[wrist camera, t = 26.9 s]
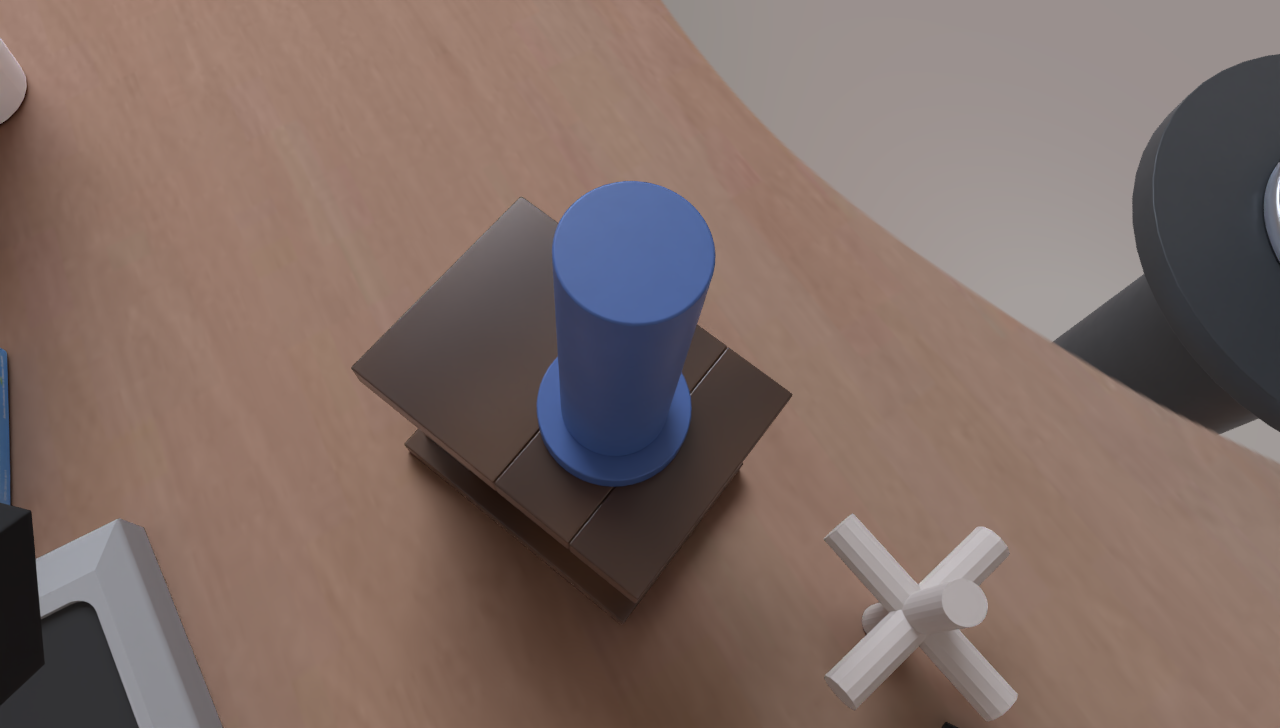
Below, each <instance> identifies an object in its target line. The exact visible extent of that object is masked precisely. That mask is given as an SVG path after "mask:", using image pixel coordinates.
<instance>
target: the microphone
mask: <svg viewBox="0 0 1280 728" xmlns="http://www.w3.org/2000/svg"><path fill="white" fill-rule="evenodd" d="M942 728H958V727H956V726H954V725H952V724H950V723H948V722H945V723H944V725H943V726H942Z"/></svg>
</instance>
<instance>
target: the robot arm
mask: <svg viewBox="0 0 1280 728" xmlns="http://www.w3.org/2000/svg"><path fill="white" fill-rule="evenodd" d="M1262 210H1263V221H1264V227H1265V231H1266V235H1267V239H1268V241H1269V244H1270V247H1271V249H1272V252H1273V254H1274V256H1275V258H1276V260H1277V262H1278V263H1279V265H1280V161H1279V162H1278V163H1277V165H1276V166H1275V168H1274V169H1273V171H1272V172H1271V174H1270V176H1269V178H1268V180H1267V183H1266V186H1265V190H1264V195H1263V206H1262ZM44 664H45V660H44V649H43V637H42V626H41V615H40V604H39V592H38V581H37V570H36V559H35V547H34V536H33V525H32V513H31V511H30V510H26V509H22V508H19V507H15V506H11V505H7V504H3V503H0V706H1V705H2V704H3V703H4V702H5V701H6V700H7V699H8V698H9V697H10V696H11V695H12V694H13V693H14V692H16V691H17V690H18V689H19V688H20V687H21V686H22V685H23V684H24V683H25V682H26V681H27V680H28V679H29V678H31V677H32V676H33V675H34V674H35V673H36V672H37V671H38V670H39V669H40V668H41V667H42V666H43V665H44Z"/></svg>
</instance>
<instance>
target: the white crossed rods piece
mask: <svg viewBox="0 0 1280 728" xmlns="http://www.w3.org/2000/svg"><path fill="white" fill-rule="evenodd" d="M824 541H825V542H826V543H827V544H828V545H829V546H830V547H831V548H832V549H833V551H834V552H835V553H836V554H837V555H838V556H839V557H840V558H841V560H842V561H843V562H844V563H845V564H846V565H847V566H848V567H849V569H850V570H851V571H852V572H853V573H854V574H855V575H856V576H857V578H858V579H859V580H860V581H861V582H862V583H863V584H864V585H865V586H866V588H867V589H868V590H869V591H870V592H871V593H872V594H873V595H874V597H875V598H876V599H877V600H878V601H879V602H880V603H876V604H873V605H871V606H869V607H868V608H867V609H866V610H865V611H864V613H863V616H862V626H863V628H864V631H865V632H866V634H867V635H866V636H865V637H864V638H863V639H862V640H861V641H860V642H859V643H858V644H857V645H856V646H855V647H854V648H853V649H852V650H851V651H850V652H848V653H847V654H846V655H845V656H844V657H843V658H842V659H841V660H840V661H839V662H838V663H837V664H836V665H835V666H834V667H833V668H832V669H831V670H830V671H829V672H828V673H827V674H826V675H825V677H824V679H825V681H826V683H827V684H828V686H829V687H830V688H831V690H832V691H833V692H834V694H835V695H836V696H837V697H838V698H839V699H840V700H841V701H842V702H843V703H844V704H846V705H847V706H848V707H849V708H851V709H853V710H856V709H857V708H858V707H859V706H860V705H861V704H862V703H863V702H864V701H865V700H866V699H867V698H868V697H869V696H870V695H871V694H872V693H873V692H874V691H875V690H876V689H877V688H878V687H879V686H880V685H881V684H882V683H883V682H884V681H885V680H886V679H887V678H888V677H889V676H890V675H891V674H892V673H893V672H894V671H895V670H896V669H897V668H898V667H899V666H900V665H901V664H902V663H903V662H904V661H905V660H906V659H907V658H908V657H909V656H910V655H911V654H912V653H913V652H914V651H915V650H916V649H917V648H918V647H920V648H921V649H922V650H923V651H924V653H925V654H926V655H927V656H928V657H929V658H930V659H931V660H932V662H933V663H934V664H935V665H936V666H937V667H938V668H939V669H940V671H941V672H942V673H943V674H944V675H945V676H946V677H947V678H948V679H949V681H950V682H951V683H952V684H953V685H954V686H955V687H956V688H957V690H958V691H959V692H960V693H961V694H962V695H963V696H964V697H965V699H966V700H967V701H968V702H969V703H970V704H971V705H972V706H973V707H974V709H975V710H976V711H977V712H978V713H979V714H980V715H981V716H982V718H983V719H984V720H985V721H987V722H988V721H992V720H995V719H996V718H998V717H1000V716H1001V715H1003V714H1004V713H1005V712H1006V711H1007V710H1008V709H1010V708H1011V706H1012V705H1013V704H1014V702H1015V701H1016V700H1017V695H1018V694H1017V693H1016V692H1015V691H1014V690H1013V689H1012V687H1011V686H1010V685H1009V684H1008V683H1007V682H1006V681H1005V680H1004V679H1003V678H1002V676H1001V675H1000V674H999V673H998V672H997V671H996V670H995V669H994V668H993V667H992V665H991V664H990V663H989V662H988V661H987V660H986V659H985V658H984V657H983V656H982V655H981V653H980V652H979V651H978V650H977V649H976V648H975V647H974V646H973V645H972V644H971V642H970V641H969V640H968V639H967V638H966V637H965V636H964V635H963V634H962V633H961V631H960V630H959V629H963V628H969V627H973V626H976V625H978V624H979V623H981V622H982V621H983V619H984V618H985V616H986V614H987V608H988V604H987V599H986V596H985V594H984V592H983V591H982V589H981V588H980V587H979V585H980V584H981V583H982V582H983V581H984V580H985V579H986V578H987V577H988V576H989V575H990V574H991V573H992V572H993V571H994V570H995V569H996V568H997V567H998V566H999V565H1000V564H1001V563H1002V562H1003V561H1004V560H1005V559H1006V558H1007V557H1008V556H1009V554H1010V553H1009V550H1008V547H1007V545H1006V544H1005V543H1004V541H1003V540H1002V539H1001V538H1000V537H999V536H998V535H997V534H995V533H994V532H993V531H991V530H989V529H987V528H985V527H977V528H976V529H975V530H974V531H973V532H972V533H970V534H969V535H968V536H967V537H966V538H965V539H964V540H963V541H962V542H961V543H960V544H959V545H958V546H957V547H956V548H955V549H954V550H953V551H952V552H951V553H950V554H949V555H948V556H947V557H946V558H945V559H944V560H943V561H942V562H941V563H940V564H939V565H938V566H937V567H936V568H935V569H934V570H933V571H932V572H930V573H929V574H928V575H927V576H926V577H925V578H924V579H923V580H922V581H921V582H920V583H919V584H917V583H916V582H915V581H914V580H913V579H912V578H911V577H910V575H909V574H908V573H907V572H906V571H905V570H904V569H903V568H902V567H901V566H900V564H899V563H898V562H897V561H896V560H895V559H894V558H893V557H892V556H891V555H890V554H889V552H888V551H887V550H886V549H885V548H884V547H883V546H882V545H881V544H880V543H879V541H878V540H877V539H876V538H875V537H874V536H873V535H872V534H871V533H870V532H869V530H868V529H867V528H866V527H865V526H864V525H863V524H862V523H861V522H860V521H859V519H858V518H857V517H856V516H855V515H854V514H851V515H850V516H848V517H847V518H846V519H845V520H843V521H842V522H841V523H840V524H839V525H838V526H836V527H835V528H834V529H833V530H832V531H831V532H830V533H829V534H828V535H827V536H826V537H825V538H824Z"/></svg>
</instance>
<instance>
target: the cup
mask: <svg viewBox="0 0 1280 728" xmlns="http://www.w3.org/2000/svg"><path fill="white" fill-rule="evenodd" d="M26 88H27V84H26V76H25V74H24V72H23V70H22V68H21V66H20V65H19V63H18V62H17V60H16V59H15V58H14V56H13V55H12V53H11V52H10V51H9V49H8V48H7V46H6V45H5V43H4V42H3V41H2V39H1V38H0V124H1V123H3V122H4V121H6V120H7V119H8V118H9V117H10V116H11V115H12V114H13V113H14V112H15V111H16V110H17V109H18V108H19V106H20V104H21V103H22V101H23V99H24V96H25V92H26Z"/></svg>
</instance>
